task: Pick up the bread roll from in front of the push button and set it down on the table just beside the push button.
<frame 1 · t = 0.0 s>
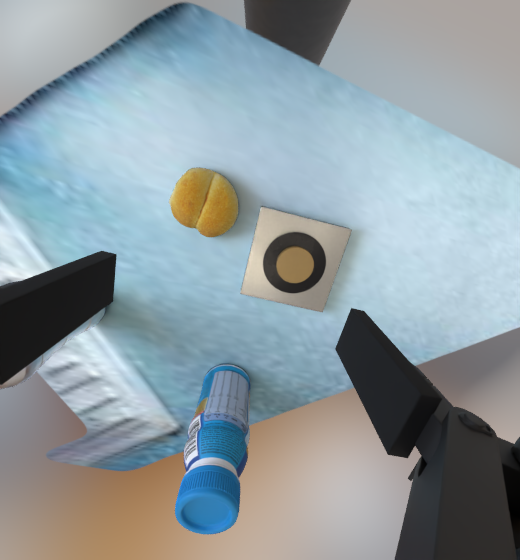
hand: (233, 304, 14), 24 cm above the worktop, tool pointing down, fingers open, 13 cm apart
push button: (292, 260, 39), on the worktop
plastic bottle: (91, 301, 41), on the worktop
bread roll: (206, 203, 36), on the worktop
beverage bottle: (227, 381, 46), on the worktop
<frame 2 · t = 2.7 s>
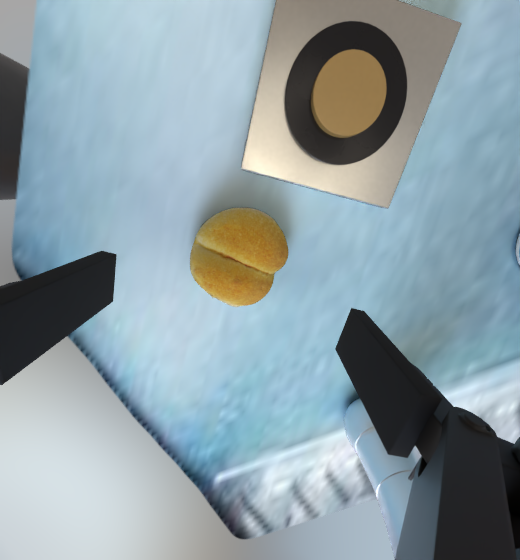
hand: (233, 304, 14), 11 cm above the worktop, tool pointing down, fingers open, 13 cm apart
push button: (337, 106, 21), on the worktop
plastic bottle: (365, 408, 32), on the worktop
bread roll: (239, 255, 25), on the worktop
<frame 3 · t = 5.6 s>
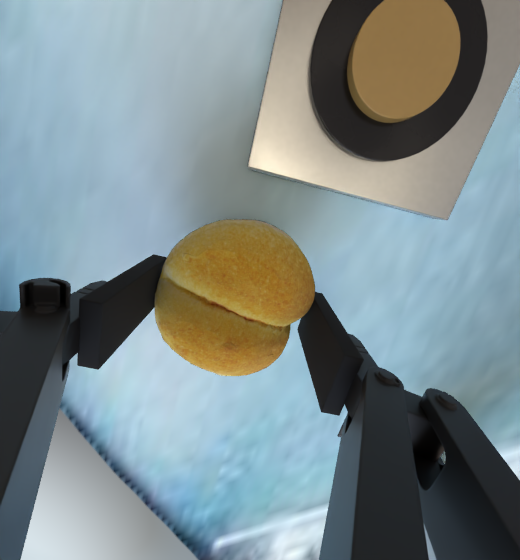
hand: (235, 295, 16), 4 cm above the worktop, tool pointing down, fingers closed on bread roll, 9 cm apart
push button: (380, 82, 15), on the worktop
bread roll: (236, 292, 16), point 3 cm above the worktop, touching gripper
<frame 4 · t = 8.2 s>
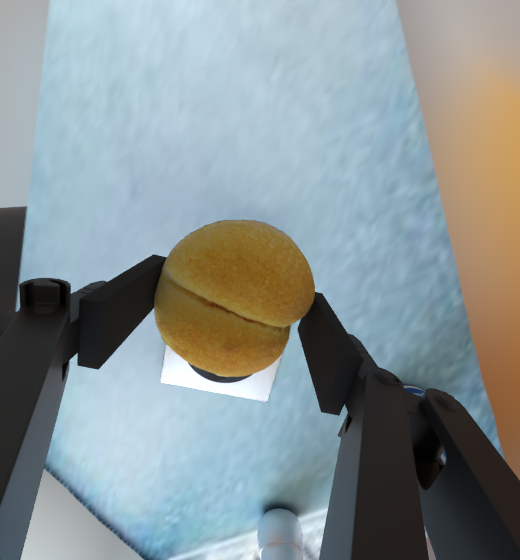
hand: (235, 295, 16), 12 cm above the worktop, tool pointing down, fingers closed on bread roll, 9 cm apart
push button: (226, 339, 30), on the worktop
plastic bottle: (278, 513, 41), on the worktop
bread roll: (236, 292, 16), point 12 cm above the worktop, touching gripper
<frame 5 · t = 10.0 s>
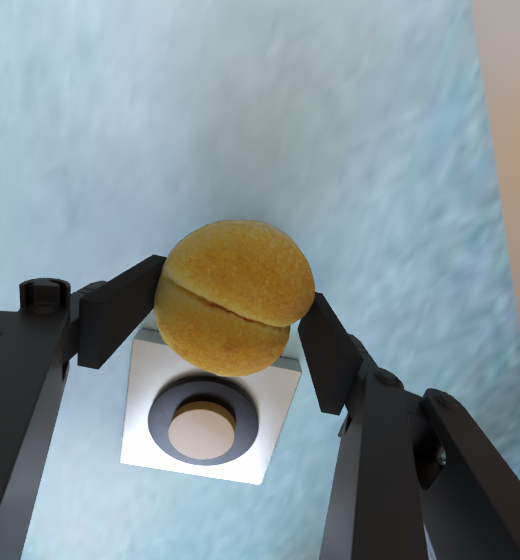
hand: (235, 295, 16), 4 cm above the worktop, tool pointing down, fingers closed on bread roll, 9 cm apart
push button: (208, 406, 23), on the worktop
bread roll: (236, 292, 16), point 3 cm above the worktop, touching gripper
when the fingers open (0 cm above the worktop, at t = 11.2 s): bread roll stays where it is, on the worktop.
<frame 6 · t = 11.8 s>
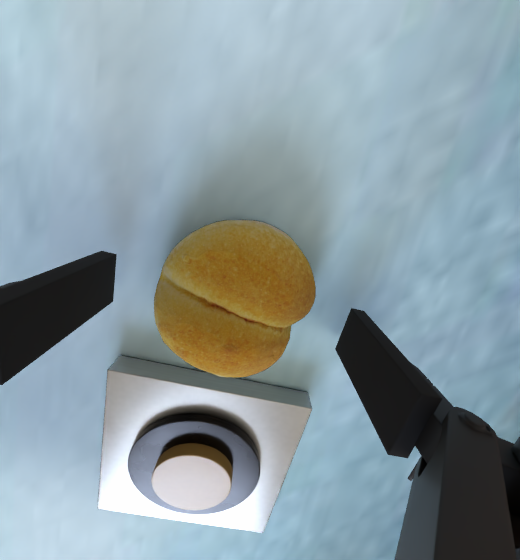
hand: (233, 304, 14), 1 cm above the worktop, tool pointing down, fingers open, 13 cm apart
push button: (200, 443, 20), on the worktop
bread roll: (236, 293, 16), on the worktop
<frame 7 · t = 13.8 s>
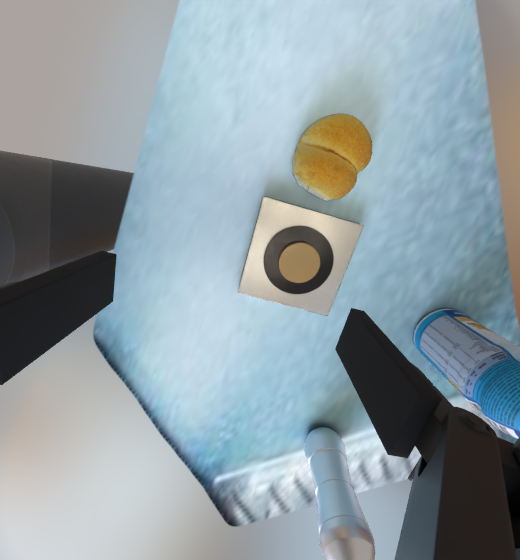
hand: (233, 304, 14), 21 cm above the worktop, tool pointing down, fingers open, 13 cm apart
push button: (296, 258, 35), on the worktop
plastic bottle: (321, 434, 45), on the worktop
bread roll: (328, 161, 32), on the worktop
beverage bottle: (438, 331, 39), on the worktop
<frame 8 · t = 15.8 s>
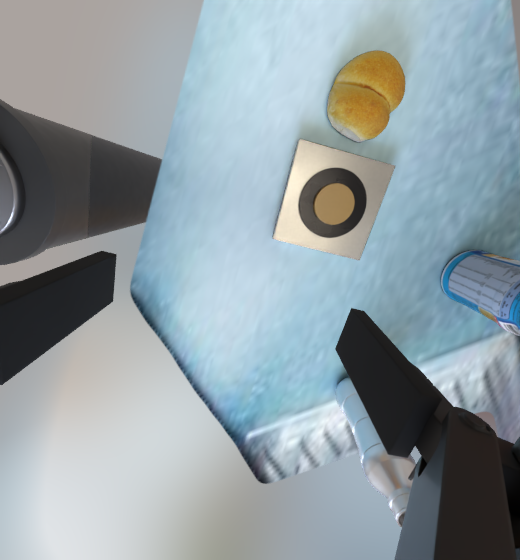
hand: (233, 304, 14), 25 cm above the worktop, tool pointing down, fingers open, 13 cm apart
push button: (328, 203, 36), on the worktop
plastic bottle: (350, 385, 47), on the worktop
bread roll: (360, 103, 33), on the worktop
beverage bottle: (464, 274, 40), on the worktop
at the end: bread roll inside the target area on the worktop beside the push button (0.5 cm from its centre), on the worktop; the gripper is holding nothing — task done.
